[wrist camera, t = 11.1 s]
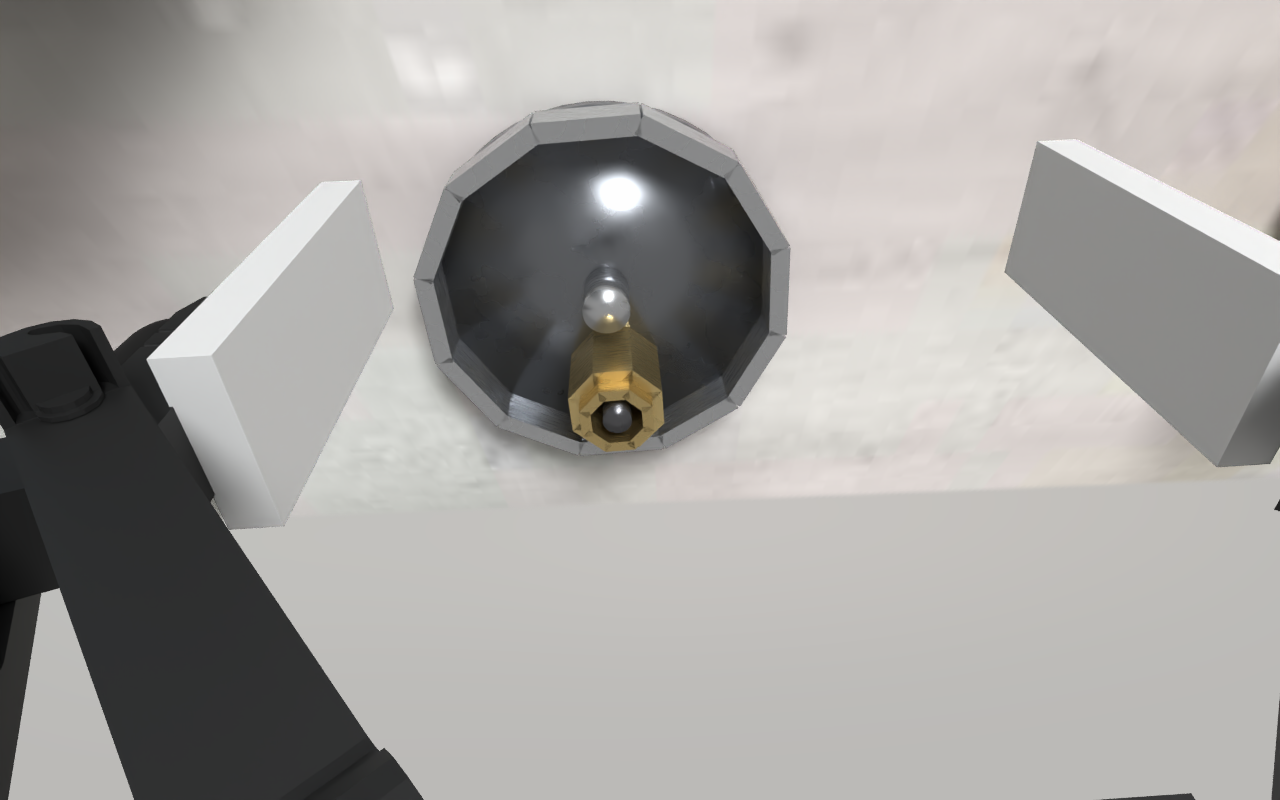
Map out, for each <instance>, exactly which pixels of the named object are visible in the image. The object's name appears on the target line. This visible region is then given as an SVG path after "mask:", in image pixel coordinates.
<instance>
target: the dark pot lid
mask: <svg viewBox="0 0 1280 800" xmlns="http://www.w3.org/2000/svg"><path fill="white" fill-rule="evenodd" d="M789 246H790V245H789V243H788V242H787V240H786V238H785V236H784V234H783V232H782V231H781V229H780V227H779V225H778V224H777V222H776V220H775V219H774V217H773V215H772V214H771V212H770V210H769V209H768V207H767V205H766V204H765V202H764V200H763V199H762V197H761V195H760V194H759V192H758V190H757V188H756V187H755V185H754V183H753V182H752V180H751V179H750V177H749V175H748V174H747V172H746V170H745V169H744V167H743V165H742V164H741V162H740V160H739V159H738V157H737V155H736V154H735V152H734V150H732V149H731V148H730V147H728V146H726V145H724V144H722V143H720V142H718V141H716V140H714V139H713V138H712V137H711V136H709V135H708V134H707V133H706V132H704V131H702V130H701V129H699V128H697V127H696V126H694V125H692V124H690V123H689V122H687V121H685V120H683V119H681V118H678V117H676V116H674V115H671V114H669V113H667V112H664V111H662V110H658V109H654V108H651V107H649V106H647V105H645V104H643V103H641V105H639V103H638V102H637V103H624V102H616V101H589V102H581V103H575V104H568V105H562V106H559V107H555V108H552V109H549V110H543V111H535V113H534V114H533V113H531V114H529V115H528V116H527V117H525V118H524V119H523V120H521V121H519V122H517V123H515V124H514V125H512V126H511V127H509V128H508V129H506V130H504V131H503V132H501V133H500V134H498V135H497V136H495V137H494V138H493V139H492V140H491V141H490V142H488V143H487V144H486V145H485V146H484V147H483V148H482V149H481V150H479V151H478V152H477V153H476V154H475V156H474V157H473V158H471V159H470V160H469V161H467V162H466V163H465V164H463V165H462V166H461V167H459V168H458V169H457V170H456V171H454V173H453V174H452V175H451V177H450V179H449V181H448V182H447V184H446V186H445V188H444V190H443V193H442V196H441V198H440V201H439V204H438V207H437V210H436V213H435V216H434V219H433V222H432V225H431V228H430V231H429V233H428V236H427V239H426V242H425V245H424V248H423V251H422V254H421V257H420V260H419V263H418V266H417V268H416V271H415V274H414V284H415V288H416V292H417V295H418V299H419V303H420V307H421V311H422V314H423V318H424V322H425V326H426V330H427V333H428V337H429V341H430V345H431V349H432V352H433V356H434V360H435V364H437V367H438V368H439V369H440V370H441V371H442V372H443V373H444V374H445V375H446V376H447V377H448V378H449V379H450V380H451V381H452V382H453V383H454V384H455V385H456V386H457V387H458V388H459V389H460V390H461V391H462V392H463V393H464V394H465V395H466V396H467V397H468V398H469V399H470V400H471V401H472V402H473V403H474V404H475V405H476V406H477V407H478V408H479V409H480V410H481V411H482V412H483V413H484V414H485V415H486V416H487V417H488V418H489V419H490V420H491V421H492V422H493V423H494V424H495V425H496V426H498V425H499V428H501V429H504V430H507V431H510V432H512V433H515V434H518V435H521V436H524V437H527V438H529V439H532V440H535V441H538V442H541V443H544V444H547V445H549V446H552V447H555V448H558V449H561V450H564V451H567V452H569V453H572V454H575V455H579V453H580V456H584V455H596V454H609V453H621V452H633V451H645V450H657V449H664V446H665V448H667V447H669V446H671V445H673V444H675V443H676V442H678V441H680V440H682V439H684V438H685V437H687V436H689V435H691V434H692V433H694V432H696V431H698V430H700V429H701V428H703V427H705V426H707V425H709V424H710V423H712V422H714V421H716V420H718V419H719V418H721V417H723V416H725V415H726V414H728V413H730V412H732V411H734V410H735V409H737V408H738V406H741V404H742V403H743V401H744V400H745V398H746V397H747V395H748V394H749V392H750V391H751V389H752V388H753V386H754V385H755V383H756V381H757V380H758V378H759V377H760V375H761V374H762V372H763V371H764V369H765V368H766V366H767V365H768V363H769V362H770V360H771V359H772V357H773V356H774V354H775V353H776V351H777V350H778V348H779V347H780V345H781V344H782V342H783V341H784V339H785V338H786V336H785V335H787V316H788V292H789V268H790V247H789ZM623 327H631V328H632V329H634V330H635V331H636V332H638V333H639V334H640V335H642V336H643V337H644V338H646V339H647V340H648V341H650V342H651V343H653V344H654V345H655V346H657V352H658V361H659V369H660V378H661V386H662V397H663V412H664V424H663V425H662V426H661V427H660V428H659V429H658V430H657V431H656V432H655V433H654V434H653V435H651V436H650V437H649V438H648V439H647V440H646V441H645V442H644V443H643V444H642V445H641V446H640V447H637V448H636V449H635V450H623V451H611V452H605V451H603V450H602V449H600V448H599V447H597V446H596V445H594V444H592V443H591V442H589V441H588V440H586V439H585V438H583V437H582V436H580V435H578V434H577V433H575V432H574V431H573V428H572V422H571V415H570V409H569V402H568V393H569V379H570V366H571V354H572V353H573V352H574V351H575V350H576V348H577V347H578V346H579V345H580V344H581V343H582V342H583V341H584V340H585V339H586V338H587V336H588V335H589V334H590V333H591V332H592V331H593V330H594V331H596V332H599V333H605V334H607V333H614V332H617V331H619V330H620V329H622V328H623ZM663 445H664V446H663Z"/></svg>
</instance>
